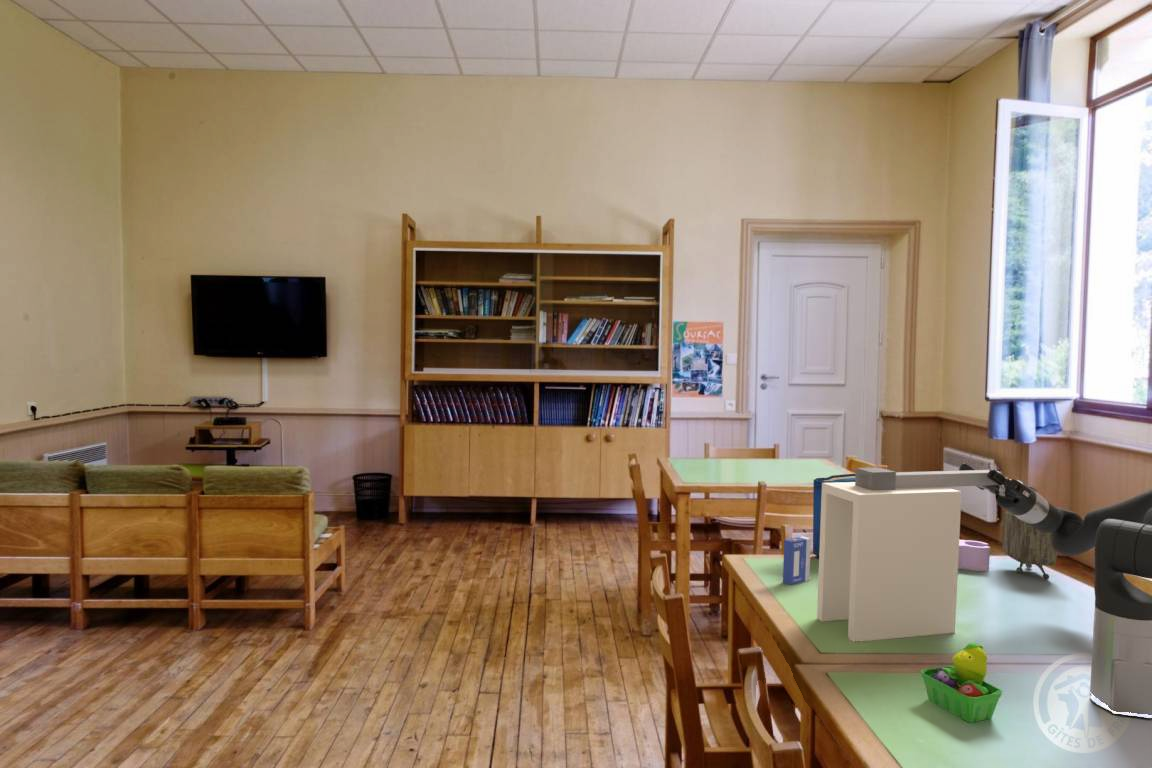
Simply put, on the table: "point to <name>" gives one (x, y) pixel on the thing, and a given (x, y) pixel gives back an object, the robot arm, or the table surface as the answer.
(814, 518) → the book
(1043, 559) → the tabletop clock
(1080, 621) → the table surface
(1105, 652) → the robot arm
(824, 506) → the stand
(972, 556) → the pink oval container
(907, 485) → the grey square-ended bar
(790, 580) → the walkman
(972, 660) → the fruit basket
